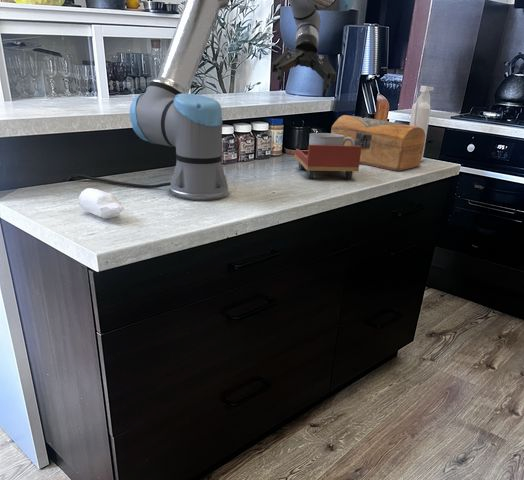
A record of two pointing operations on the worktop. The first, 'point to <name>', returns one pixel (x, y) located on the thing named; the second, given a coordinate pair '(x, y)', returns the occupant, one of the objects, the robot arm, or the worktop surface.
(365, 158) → the wooden box
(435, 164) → the worktop surface
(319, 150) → the cart
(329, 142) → the teacup
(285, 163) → the worktop surface
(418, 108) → the white spray bottle
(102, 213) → the roll
